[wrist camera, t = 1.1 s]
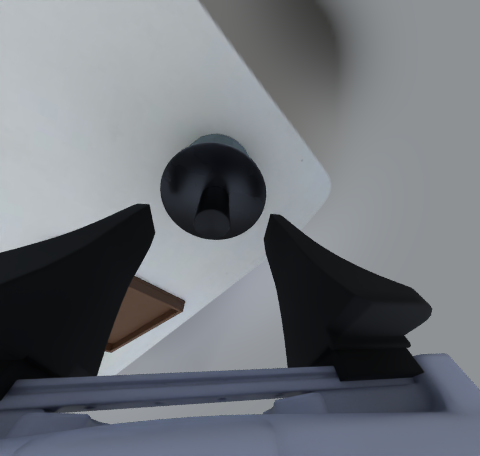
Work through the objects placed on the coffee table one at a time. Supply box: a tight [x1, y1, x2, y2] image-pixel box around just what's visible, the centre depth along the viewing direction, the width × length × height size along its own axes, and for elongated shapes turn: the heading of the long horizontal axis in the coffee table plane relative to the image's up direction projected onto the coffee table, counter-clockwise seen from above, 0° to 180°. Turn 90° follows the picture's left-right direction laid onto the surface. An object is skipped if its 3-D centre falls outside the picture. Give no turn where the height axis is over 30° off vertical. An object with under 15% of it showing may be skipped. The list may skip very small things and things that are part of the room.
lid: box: [160, 142, 266, 240], centre depth 12 cm, size 8×8×4 cm
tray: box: [105, 276, 185, 353], centre depth 31 cm, size 21×25×2 cm
